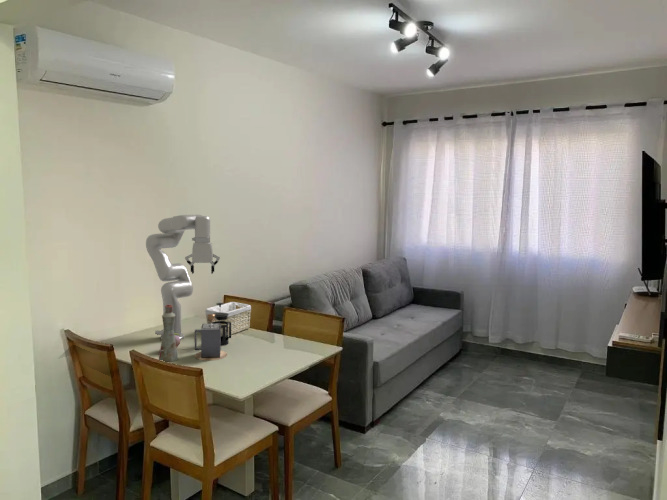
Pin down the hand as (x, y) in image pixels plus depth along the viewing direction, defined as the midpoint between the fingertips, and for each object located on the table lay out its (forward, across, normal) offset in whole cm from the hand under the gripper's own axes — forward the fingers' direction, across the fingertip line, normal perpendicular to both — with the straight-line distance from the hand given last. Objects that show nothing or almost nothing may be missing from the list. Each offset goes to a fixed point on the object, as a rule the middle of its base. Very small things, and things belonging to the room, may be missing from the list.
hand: (202, 273), depth 260 cm
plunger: (+38, +5, -12) cm, 40 cm away
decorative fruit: (+40, -16, -1) cm, 44 cm away
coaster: (+40, +5, -12) cm, 42 cm away
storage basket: (+41, +12, +34) cm, 54 cm away
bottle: (+40, -15, -16) cm, 46 cm away
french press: (+40, +9, +7) cm, 42 cm away
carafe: (+40, +3, -12) cm, 41 cm away
